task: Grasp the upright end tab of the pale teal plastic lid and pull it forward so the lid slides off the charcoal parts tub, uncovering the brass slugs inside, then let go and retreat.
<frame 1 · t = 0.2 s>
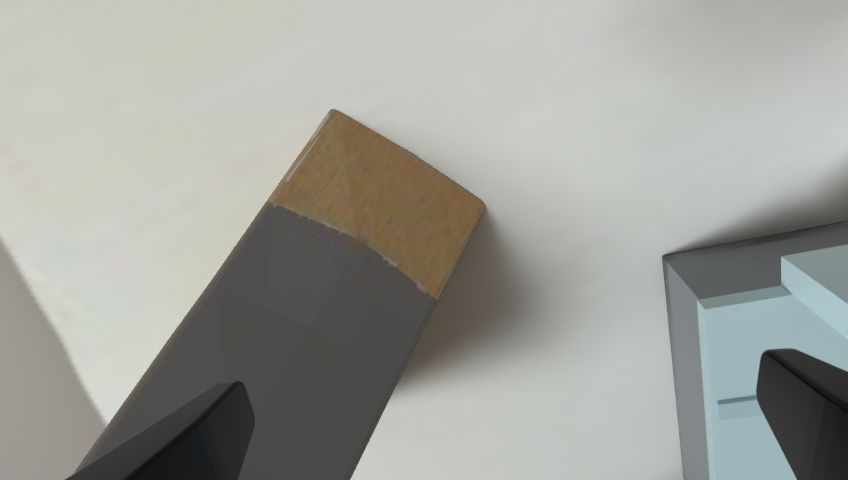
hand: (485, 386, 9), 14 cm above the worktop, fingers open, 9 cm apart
sandwich container: (338, 276, 25), on the worktop
tub: (770, 364, 24), on the worktop
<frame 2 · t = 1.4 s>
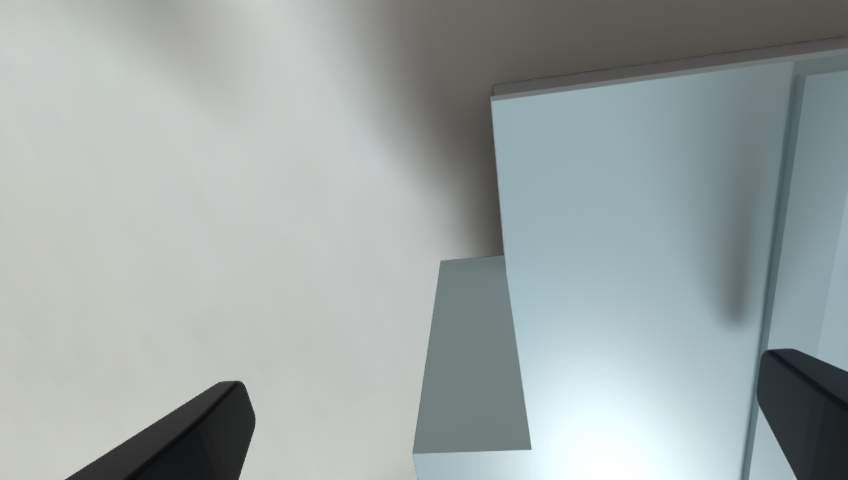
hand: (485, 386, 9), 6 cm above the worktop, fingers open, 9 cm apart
tub: (776, 225, 13), on the worktop
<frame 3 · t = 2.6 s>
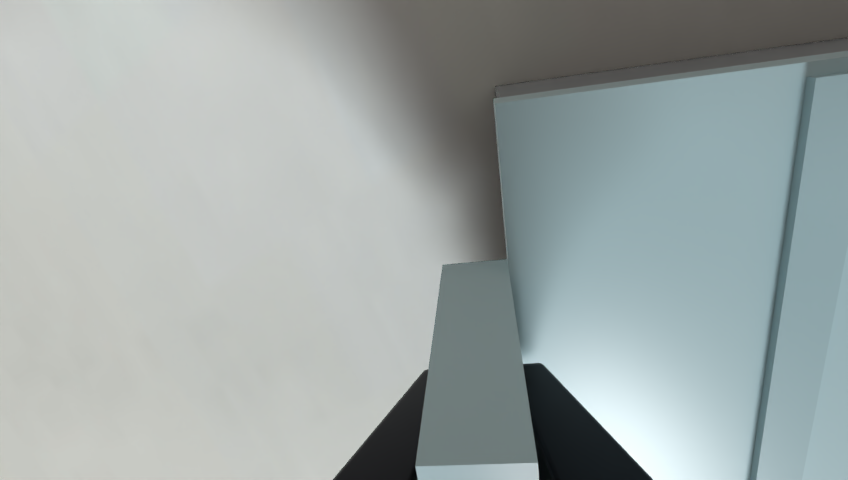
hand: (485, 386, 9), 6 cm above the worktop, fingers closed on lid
tub: (781, 228, 13), on the worktop
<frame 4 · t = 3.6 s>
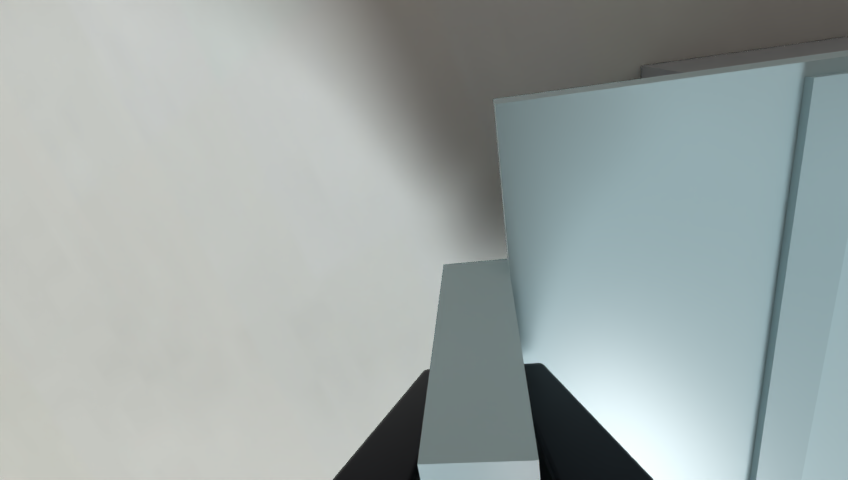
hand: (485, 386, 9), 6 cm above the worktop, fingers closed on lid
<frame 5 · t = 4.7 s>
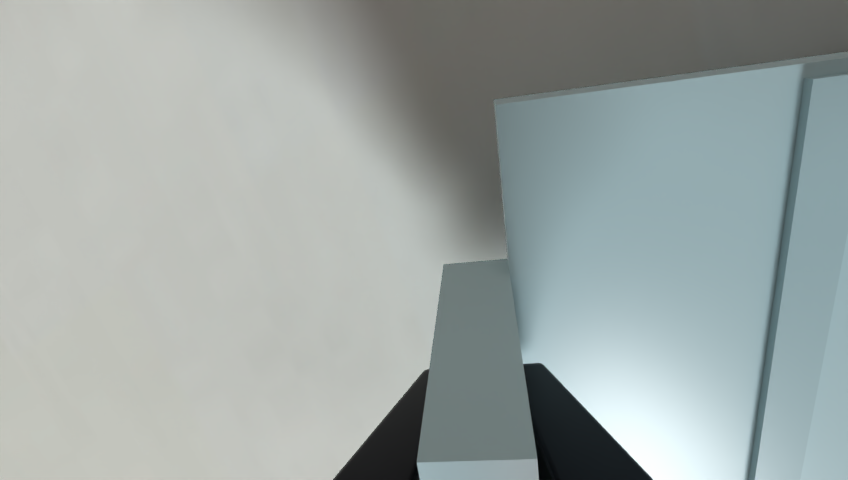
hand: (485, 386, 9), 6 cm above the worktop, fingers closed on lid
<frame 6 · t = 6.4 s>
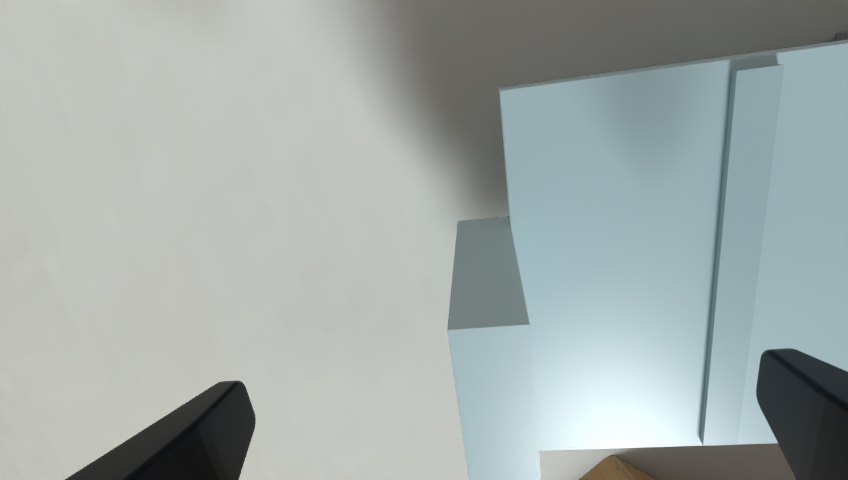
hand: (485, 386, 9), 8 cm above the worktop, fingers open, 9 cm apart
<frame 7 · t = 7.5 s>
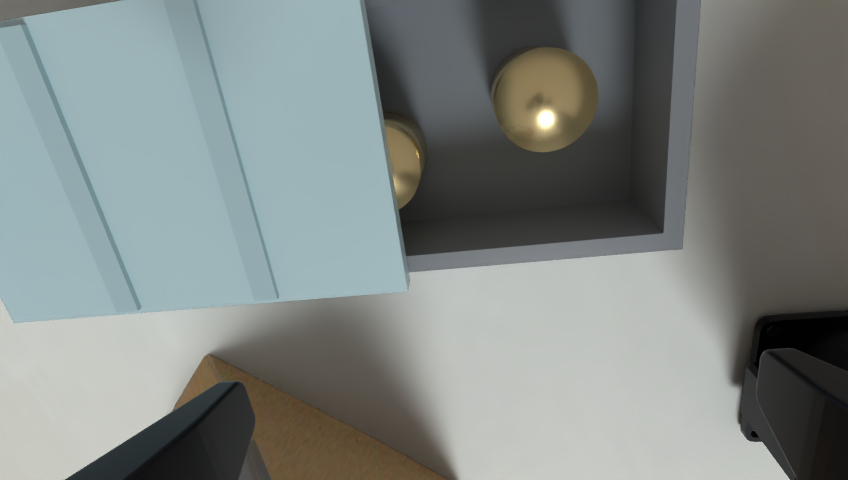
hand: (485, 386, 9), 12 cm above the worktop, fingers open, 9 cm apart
lid: (97, 193, 13), point 7 cm above the worktop, slide at 9.0 cm
sandwich container: (306, 463, 27), on the worktop
brass slug B: (387, 151, 18), point 1 cm above the worktop, touching tub
tub: (450, 113, 18), on the worktop
brass slug A: (533, 91, 17), point 1 cm above the worktop, touching tub
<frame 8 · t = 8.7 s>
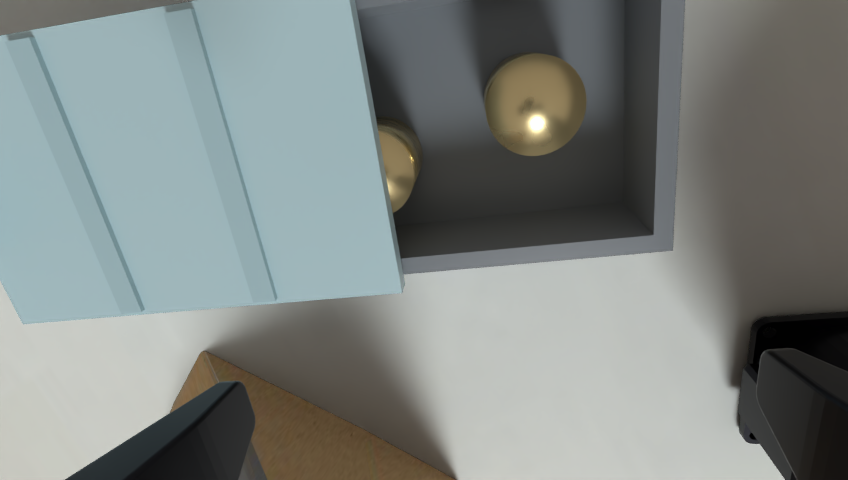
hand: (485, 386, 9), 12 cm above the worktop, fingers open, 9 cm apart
lid: (100, 197, 14), point 7 cm above the worktop, slide at 9.0 cm
sandwich container: (304, 459, 27), on the worktop
brass slug B: (384, 155, 19), point 1 cm above the worktop, touching tub
tub: (445, 119, 19), on the worktop
brass slug A: (525, 96, 17), point 1 cm above the worktop, touching tub
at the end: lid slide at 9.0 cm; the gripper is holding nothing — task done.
